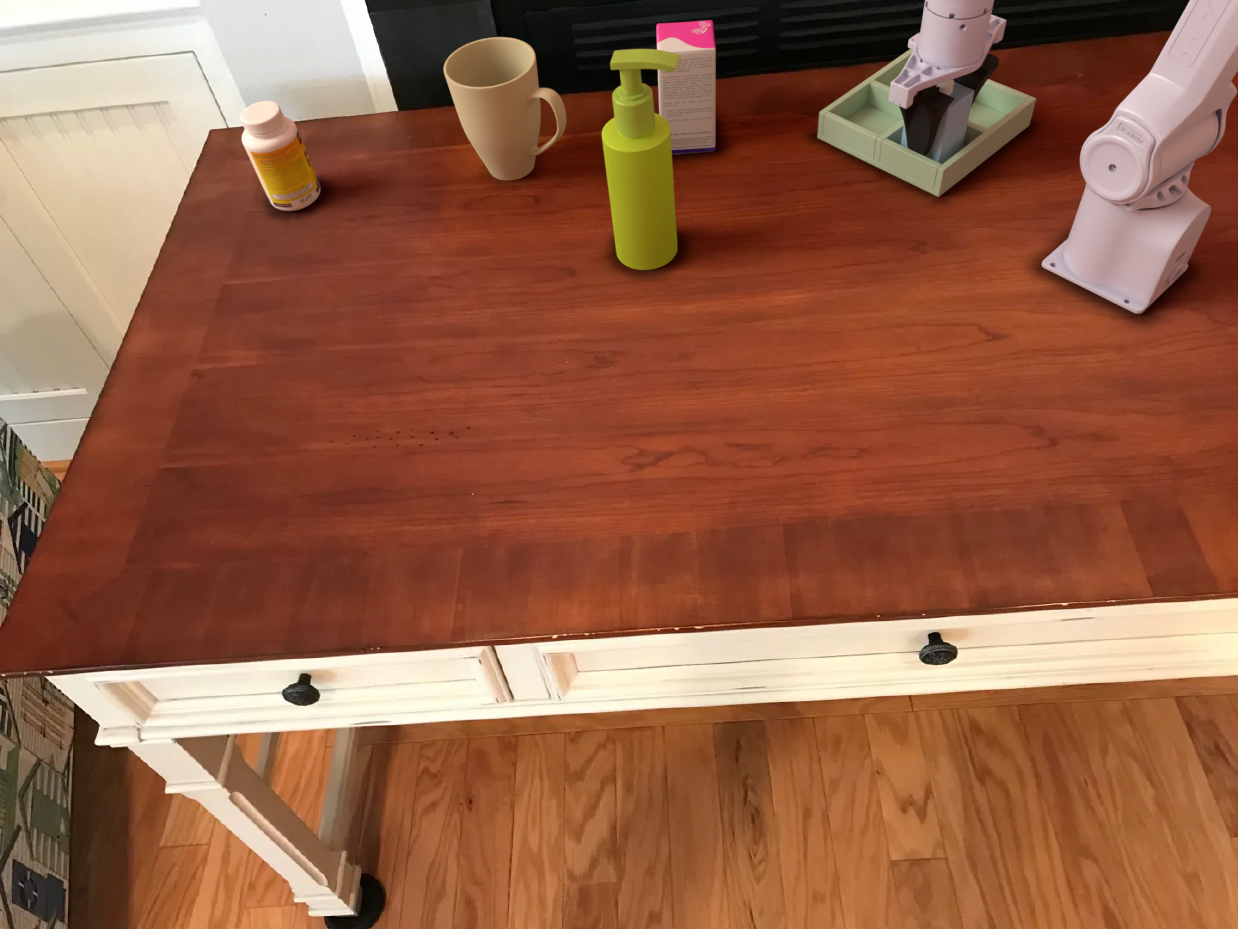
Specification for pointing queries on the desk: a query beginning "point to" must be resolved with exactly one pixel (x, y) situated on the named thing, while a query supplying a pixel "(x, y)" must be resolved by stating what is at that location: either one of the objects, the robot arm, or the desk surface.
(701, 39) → the supplement box
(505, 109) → the mug
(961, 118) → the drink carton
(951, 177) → the tray
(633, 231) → the soap dispenser
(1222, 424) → the desk surface
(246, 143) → the supplement bottle
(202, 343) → the desk surface
